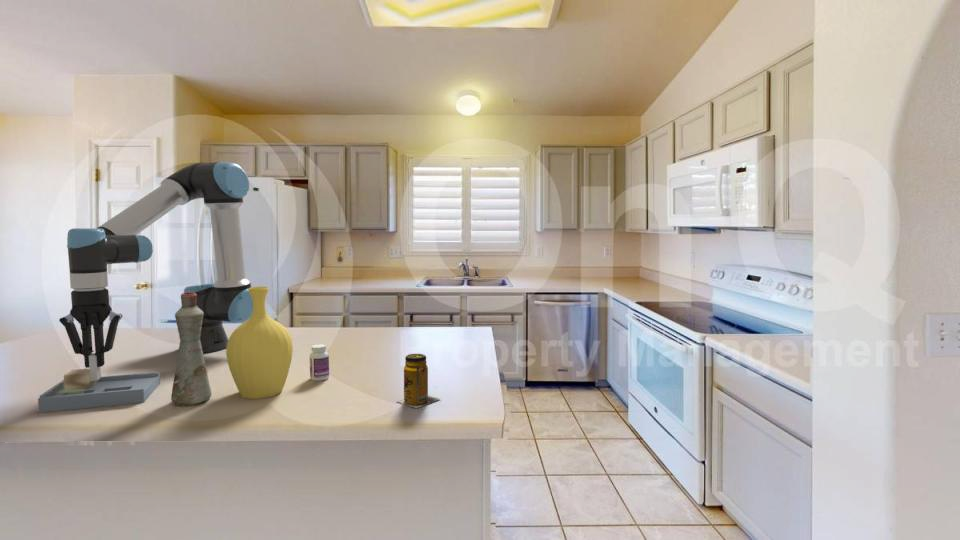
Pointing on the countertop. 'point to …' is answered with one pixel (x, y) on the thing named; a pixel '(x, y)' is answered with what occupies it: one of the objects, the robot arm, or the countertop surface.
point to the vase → (259, 352)
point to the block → (78, 380)
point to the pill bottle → (319, 363)
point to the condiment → (416, 382)
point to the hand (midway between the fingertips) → (95, 379)
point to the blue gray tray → (101, 393)
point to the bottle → (190, 356)
